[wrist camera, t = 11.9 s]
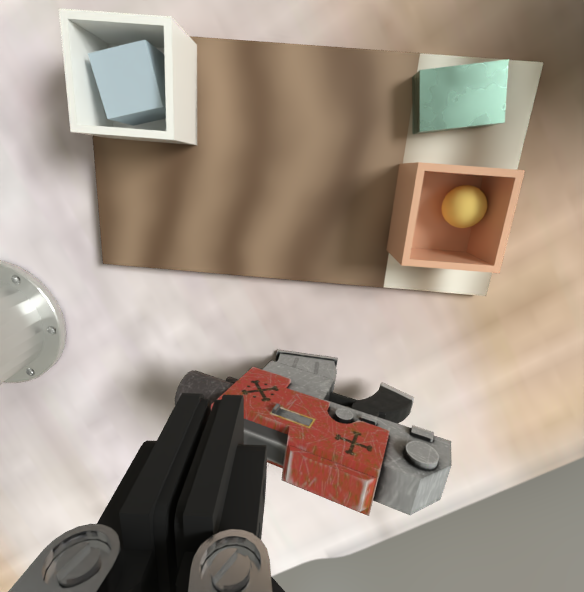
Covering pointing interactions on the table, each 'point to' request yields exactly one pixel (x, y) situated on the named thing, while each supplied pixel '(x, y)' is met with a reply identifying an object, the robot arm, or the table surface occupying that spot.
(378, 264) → the board
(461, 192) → the ball
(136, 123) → the block
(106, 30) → the white open cubby box
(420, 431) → the toy gun
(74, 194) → the table surface
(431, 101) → the tin
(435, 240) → the peach open cubby box
